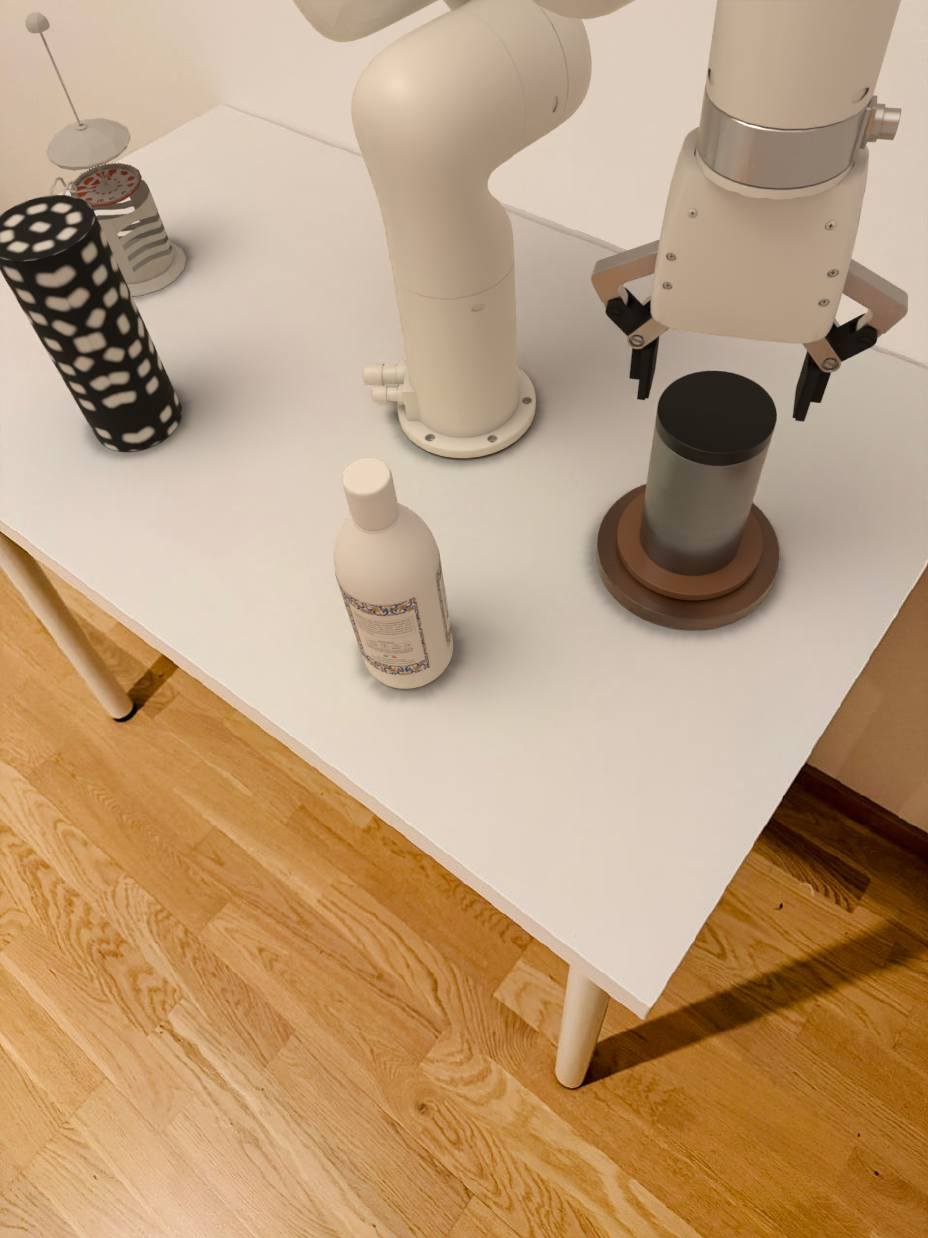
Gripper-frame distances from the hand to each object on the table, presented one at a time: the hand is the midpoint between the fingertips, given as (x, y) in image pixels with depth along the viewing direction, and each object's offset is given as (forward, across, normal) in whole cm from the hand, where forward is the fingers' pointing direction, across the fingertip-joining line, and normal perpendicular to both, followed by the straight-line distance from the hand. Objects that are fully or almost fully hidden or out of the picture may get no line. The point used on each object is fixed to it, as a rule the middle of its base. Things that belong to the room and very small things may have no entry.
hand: (721, 395), depth 58 cm
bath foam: (+17, +19, +13) cm, 29 cm away
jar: (+15, 0, 0) cm, 15 cm away
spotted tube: (+17, +52, -5) cm, 55 cm away
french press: (+17, +62, -26) cm, 70 cm away
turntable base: (+17, 0, 0) cm, 17 cm away
